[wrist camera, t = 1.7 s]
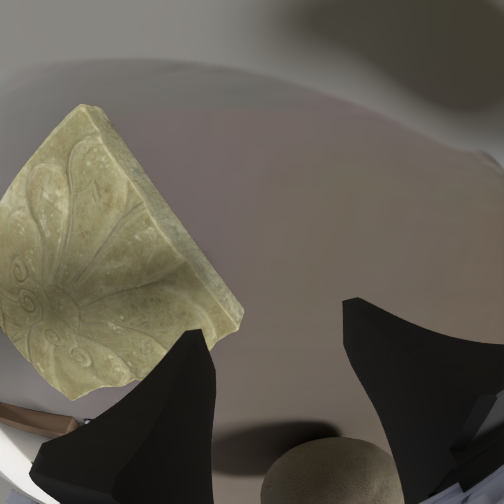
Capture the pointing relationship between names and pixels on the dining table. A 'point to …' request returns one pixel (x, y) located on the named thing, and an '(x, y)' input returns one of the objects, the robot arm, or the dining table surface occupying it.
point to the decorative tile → (99, 264)
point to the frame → (37, 421)
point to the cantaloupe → (333, 474)
